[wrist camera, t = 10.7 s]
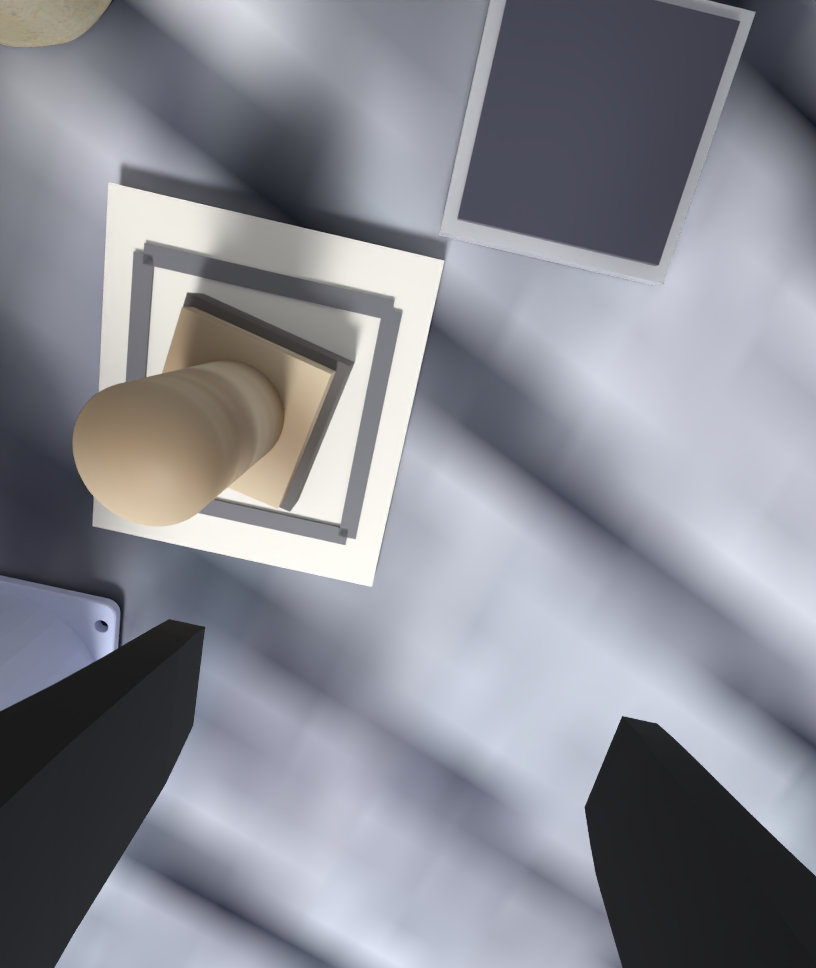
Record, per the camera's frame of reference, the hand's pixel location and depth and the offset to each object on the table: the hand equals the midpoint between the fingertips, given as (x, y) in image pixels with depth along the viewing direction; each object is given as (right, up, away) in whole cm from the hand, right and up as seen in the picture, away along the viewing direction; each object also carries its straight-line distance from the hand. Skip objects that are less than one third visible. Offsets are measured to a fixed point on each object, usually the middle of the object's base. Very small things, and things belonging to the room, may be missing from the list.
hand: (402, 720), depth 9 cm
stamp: (-5, +7, +8) cm, 12 cm away
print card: (-5, +7, +9) cm, 12 cm away
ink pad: (+5, +14, +6) cm, 16 cm away
